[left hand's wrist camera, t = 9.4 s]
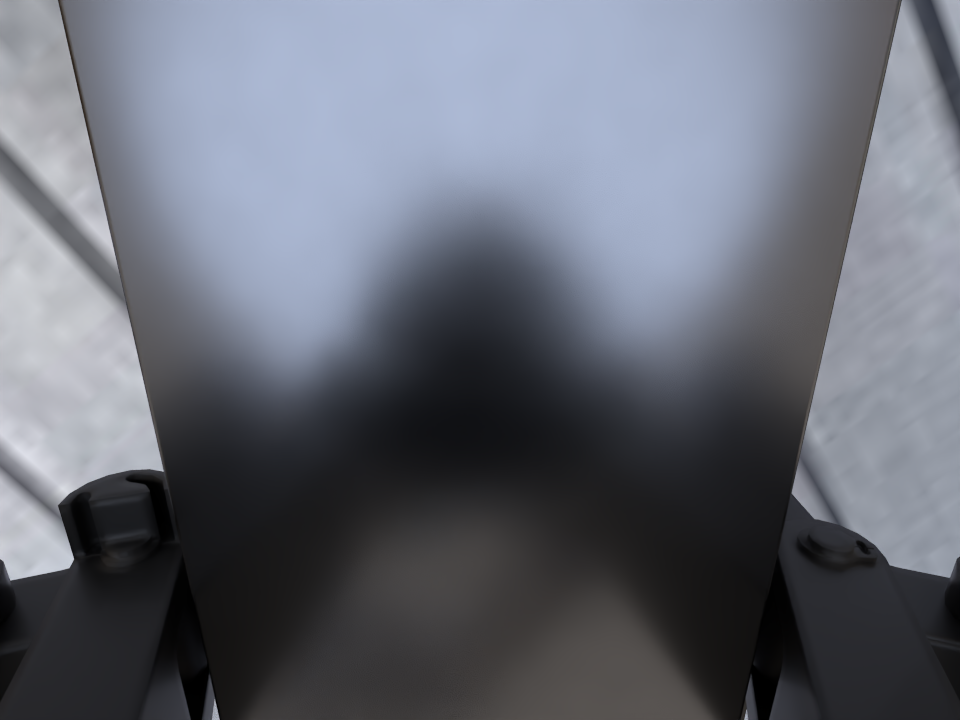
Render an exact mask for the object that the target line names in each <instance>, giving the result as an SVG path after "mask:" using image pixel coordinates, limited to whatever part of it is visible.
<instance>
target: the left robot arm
mask: <svg viewBox="0 0 960 720" xmlns="http://www.w3.org/2000/svg"><path fill="white" fill-rule="evenodd" d="M58 507H59V510H60V514H61V517H62V520H63V523H64V527H65V530H66V533H67V537H68V540H69V543H70V546H71V550H72V553H73V556H74V561H73V563H72V565H71V567H70V568H69V569H65V570H61V571H56V572H51V573H47V574H42V575H37V576H32V577H27V578H22V579H17V580H12V581H10V579H9V576H8V573H7V570H6V568H5V565H4V562H3V561H2V560H0V720H212V713H213V706H214V699H215V696H214V692H213V687H212V683H211V678H210V674H209V669H208V665H207V660H206V656H205V652H204V647H203V643H202V638H201V634H200V629H199V625H198V620H197V616H196V611H195V607H194V603H193V598H192V594H191V589H190V585H189V580H188V576H187V571H186V567H185V563H184V558H183V554H182V549H181V545H180V540H179V536H178V531H177V527H176V523H175V518H174V514H173V509H172V505H171V500H170V496H169V491H168V487H167V483H166V478H165V474H164V472H161V471H156V470H151V469H147V470H130V471H125V472H121V473H116V474H112V475H108V476H105V477H102V478H100V479H97V480H95V481H92V482H89V483H87V484H85V485H84V486H82V487H80V488H79V489H77V490H75V491H73V492H72V493H70V494H69V495H68V496H67V497H66V498H65V499H64V500H63V501H62V502H61V503H60V504H59V505H58ZM746 709H747V712H748V719H749V720H960V557H959V558H957V560H956V563H955V566H954V569H953V571H952V574H951V577H950V578H947V577H942V576H937V575H932V574H927V573H922V572H917V571H912V570H907V569H902V568H897V567H893V566H890V565H889V564H888V562H887V560H886V558H885V557H884V556H883V554H882V553H881V552H880V551H879V550H878V548H877V547H876V546H875V545H874V544H872V543H871V542H869V541H868V540H867V539H865V538H864V537H862V536H861V535H859V534H858V533H855V532H853V531H851V530H849V529H846V528H844V527H842V526H840V525H837V524H833V523H829V522H825V521H821V520H816V519H814V518H813V517H812V516H811V515H810V514H809V513H808V512H807V510H806V509H805V508H804V507H803V506H802V505H801V504H800V503H799V501H798V500H797V499H796V498H795V497H794V496H793V495H792V494H791V497H790V501H789V506H788V510H787V515H786V519H785V524H784V528H783V533H782V537H781V542H780V546H779V551H778V555H777V560H776V564H775V568H774V573H773V577H772V582H771V586H770V591H769V595H768V600H767V604H766V609H765V613H764V618H763V622H762V627H761V631H760V635H759V640H758V644H757V649H756V653H755V658H754V662H753V667H752V671H751V676H750V680H749V685H748V689H747V694H746V698H745V702H744V707H743V711H742V716H741V720H744V717H745V713H746Z"/></svg>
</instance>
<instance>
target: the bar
mask: <svg viewBox="0 0 960 720" xmlns="http://www.w3.org/2000/svg"><path fill="white" fill-rule="evenodd" d="M901 1H902V0H58V2H59V7H60V11H61V15H62V20H63V24H64V29H65V33H66V38H67V42H68V47H69V51H70V55H71V60H72V64H73V69H74V73H75V78H76V82H77V87H78V91H79V96H80V100H81V104H82V109H83V113H84V118H85V122H86V127H87V131H88V136H89V140H90V144H91V149H92V153H93V158H94V162H95V167H96V171H97V176H98V180H99V184H100V189H101V193H102V198H103V202H104V207H105V211H106V216H107V220H108V225H109V229H110V233H111V238H112V242H113V247H114V251H115V256H116V260H117V265H118V269H119V273H120V278H121V282H122V287H123V291H124V296H125V300H126V305H127V309H128V313H129V318H130V322H131V327H132V331H133V336H134V340H135V345H136V349H137V354H138V358H139V362H140V367H141V371H142V376H143V380H144V385H145V389H146V394H147V398H148V402H149V407H150V411H151V416H152V420H153V425H154V429H155V434H156V438H157V442H158V447H159V451H160V456H161V460H162V465H163V469H164V474H165V478H166V483H167V487H168V491H169V496H170V500H171V505H172V509H173V514H174V518H175V523H176V527H177V531H178V536H179V540H180V545H181V549H182V554H183V558H184V563H185V567H186V571H187V576H188V580H189V585H190V589H191V594H192V598H193V603H194V607H195V611H196V616H197V620H198V625H199V629H200V634H201V638H202V643H203V647H204V652H205V656H206V660H207V665H208V669H209V674H210V678H211V683H212V687H213V692H214V696H215V700H216V705H217V709H218V714H219V718H220V720H741V716H742V711H743V707H744V702H745V698H746V694H747V689H748V685H749V680H750V676H751V671H752V667H753V662H754V658H755V653H756V649H757V644H758V640H759V635H760V631H761V627H762V622H763V618H764V613H765V609H766V604H767V600H768V595H769V591H770V586H771V582H772V577H773V573H774V568H775V564H776V560H777V555H778V551H779V546H780V542H781V537H782V533H783V528H784V524H785V519H786V515H787V510H788V506H789V501H790V497H791V493H792V488H793V484H794V479H795V475H796V470H797V466H798V461H799V457H800V452H801V448H802V443H803V439H804V434H805V430H806V426H807V421H808V417H809V412H810V408H811V403H812V399H813V394H814V390H815V385H816V381H817V376H818V372H819V367H820V363H821V359H822V354H823V350H824V345H825V341H826V336H827V332H828V327H829V323H830V318H831V314H832V309H833V305H834V300H835V296H836V291H837V287H838V283H839V278H840V274H841V269H842V265H843V260H844V256H845V251H846V247H847V242H848V238H849V233H850V229H851V224H852V220H853V216H854V211H855V207H856V202H857V198H858V193H859V189H860V184H861V180H862V175H863V171H864V166H865V162H866V157H867V153H868V149H869V144H870V140H871V135H872V131H873V126H874V122H875V117H876V113H877V108H878V104H879V99H880V95H881V90H882V86H883V82H884V77H885V73H886V68H887V64H888V59H889V55H890V50H891V46H892V41H893V37H894V32H895V28H896V23H897V19H898V15H899V10H900V6H901Z"/></svg>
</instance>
